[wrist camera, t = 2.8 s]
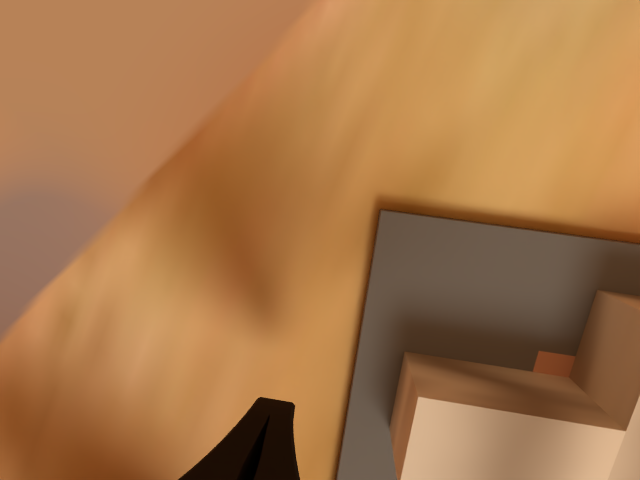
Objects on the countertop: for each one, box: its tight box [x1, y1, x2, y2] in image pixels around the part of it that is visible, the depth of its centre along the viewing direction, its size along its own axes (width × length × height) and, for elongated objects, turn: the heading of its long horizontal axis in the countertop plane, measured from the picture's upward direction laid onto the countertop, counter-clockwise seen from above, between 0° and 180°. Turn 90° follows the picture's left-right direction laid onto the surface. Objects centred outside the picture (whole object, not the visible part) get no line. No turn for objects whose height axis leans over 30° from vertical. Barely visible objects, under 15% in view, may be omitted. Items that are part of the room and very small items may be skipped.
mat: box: [336, 209, 640, 480], centre depth 15 cm, size 21×16×1 cm
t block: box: [389, 290, 640, 480], centre depth 13 cm, size 11×12×3 cm
